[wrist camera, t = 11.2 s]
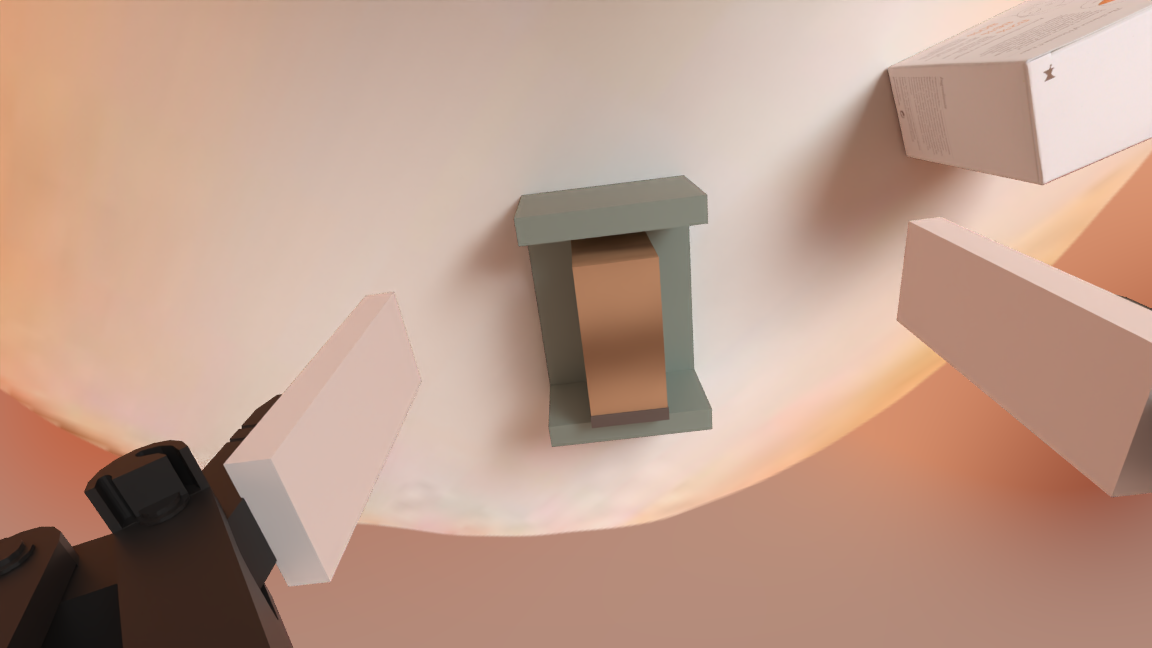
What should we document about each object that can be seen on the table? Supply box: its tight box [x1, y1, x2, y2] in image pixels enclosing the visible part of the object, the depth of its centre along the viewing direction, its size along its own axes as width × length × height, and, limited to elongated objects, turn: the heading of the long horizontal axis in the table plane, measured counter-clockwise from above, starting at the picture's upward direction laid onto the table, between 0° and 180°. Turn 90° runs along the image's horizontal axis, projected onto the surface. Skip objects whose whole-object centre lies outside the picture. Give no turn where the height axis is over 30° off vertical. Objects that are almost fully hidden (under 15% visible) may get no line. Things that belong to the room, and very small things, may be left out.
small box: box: [888, 0, 1152, 185], centre depth 27 cm, size 8×6×10 cm
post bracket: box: [514, 175, 712, 447], centre depth 34 cm, size 14×10×6 cm
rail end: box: [571, 231, 670, 428], centre depth 34 cm, size 10×5×6 cm, turn 7°
